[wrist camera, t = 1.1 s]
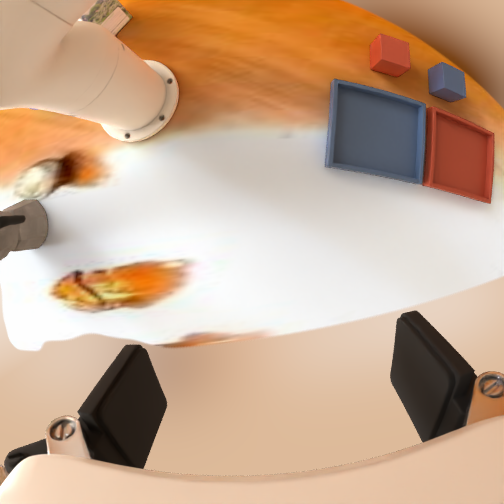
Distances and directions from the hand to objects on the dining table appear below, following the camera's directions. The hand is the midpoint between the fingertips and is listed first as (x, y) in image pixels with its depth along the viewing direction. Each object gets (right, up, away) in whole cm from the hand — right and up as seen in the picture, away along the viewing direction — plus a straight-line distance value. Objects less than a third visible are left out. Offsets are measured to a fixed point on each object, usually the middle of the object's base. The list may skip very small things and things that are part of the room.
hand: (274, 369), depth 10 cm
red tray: (+32, +19, +25) cm, 45 cm away
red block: (+19, +32, +22) cm, 43 cm away
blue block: (+29, +30, +22) cm, 47 cm away
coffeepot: (-39, +10, +30) cm, 50 cm away
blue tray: (+16, +21, +25) cm, 36 cm away
